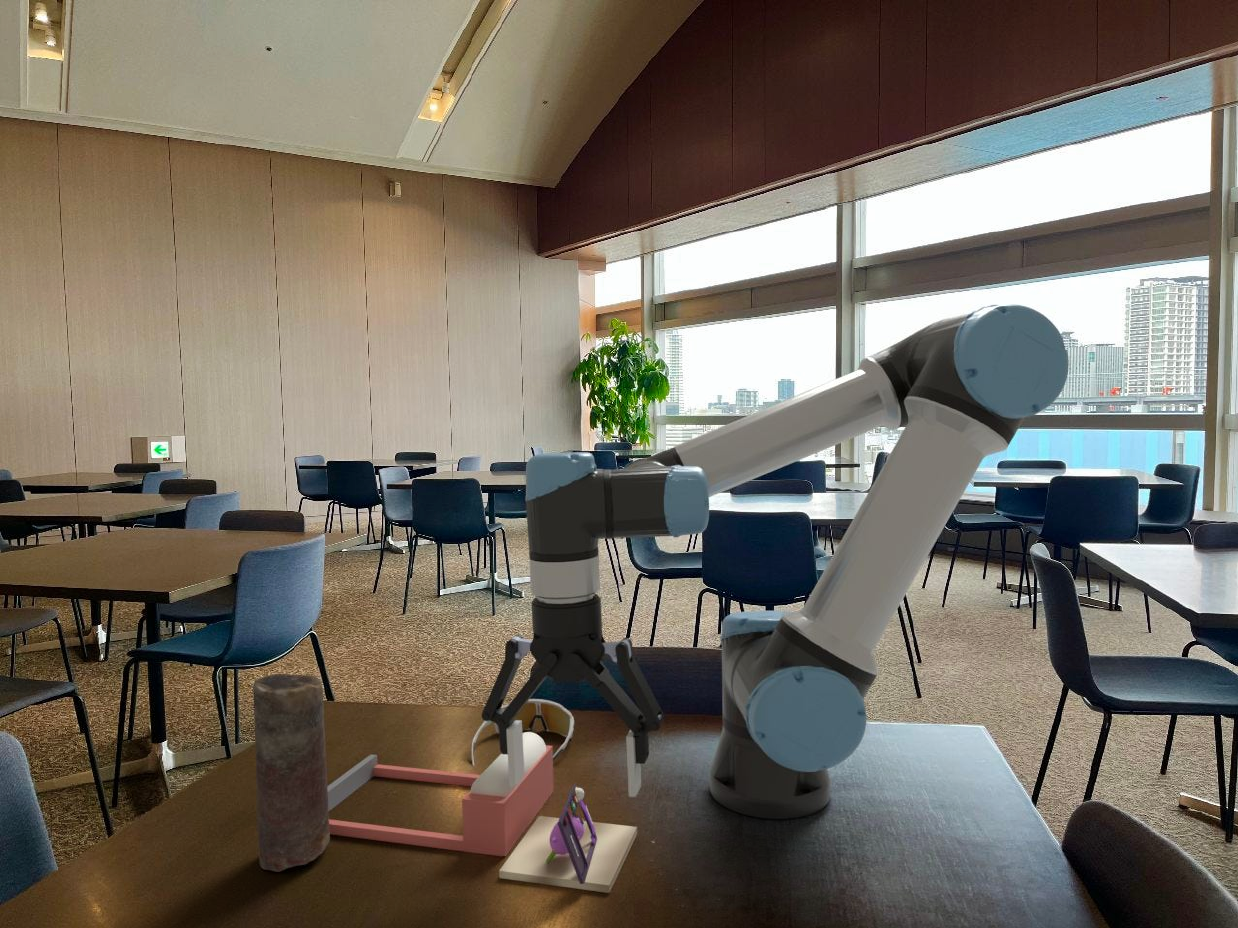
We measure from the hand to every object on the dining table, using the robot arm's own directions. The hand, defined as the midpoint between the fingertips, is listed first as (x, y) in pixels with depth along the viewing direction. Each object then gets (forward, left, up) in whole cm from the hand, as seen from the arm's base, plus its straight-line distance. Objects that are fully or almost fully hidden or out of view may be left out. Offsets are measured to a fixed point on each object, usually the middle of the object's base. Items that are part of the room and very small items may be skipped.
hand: (575, 786), depth 89 cm
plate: (0, 0, -8) cm, 8 cm away
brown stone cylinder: (+30, +7, -8) cm, 32 cm away
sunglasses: (+16, -26, -8) cm, 32 cm away
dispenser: (+21, -6, -8) cm, 23 cm away
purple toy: (0, +3, -7) cm, 8 cm away
